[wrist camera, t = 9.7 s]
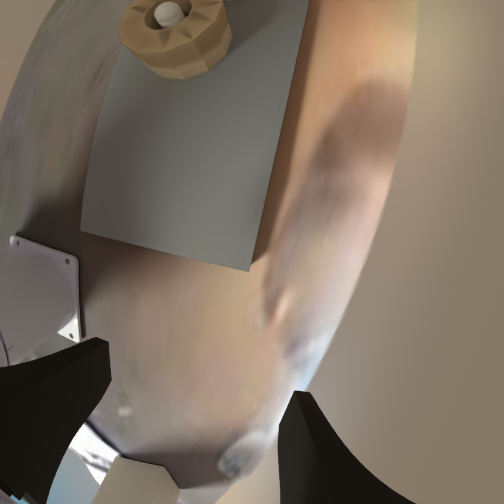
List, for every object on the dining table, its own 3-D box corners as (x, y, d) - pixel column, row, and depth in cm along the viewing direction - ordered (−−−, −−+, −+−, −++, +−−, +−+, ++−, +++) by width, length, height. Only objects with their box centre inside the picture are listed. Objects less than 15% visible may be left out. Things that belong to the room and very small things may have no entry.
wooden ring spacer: (136, 78, 14) (105, 56, 10) (162, 14, 13) (141, -16, 9) (218, 82, 14) (203, 53, 10) (240, 15, 12) (232, -22, 9)
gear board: (91, 227, 18) (35, 243, 12) (181, -45, 12) (163, -83, 6) (250, 265, 18) (241, 303, 12) (317, -37, 12) (327, -81, 6)
